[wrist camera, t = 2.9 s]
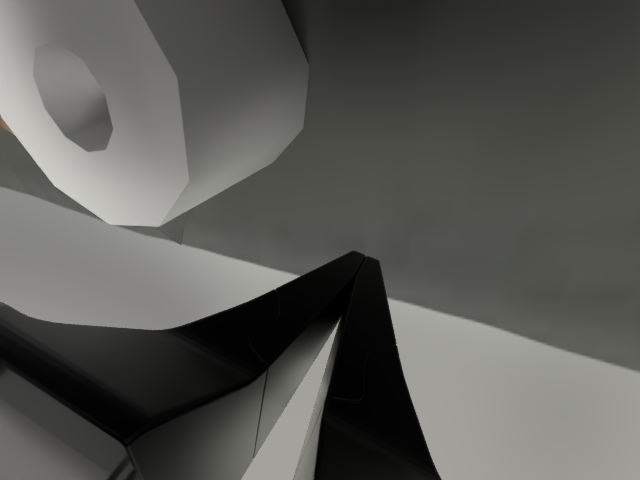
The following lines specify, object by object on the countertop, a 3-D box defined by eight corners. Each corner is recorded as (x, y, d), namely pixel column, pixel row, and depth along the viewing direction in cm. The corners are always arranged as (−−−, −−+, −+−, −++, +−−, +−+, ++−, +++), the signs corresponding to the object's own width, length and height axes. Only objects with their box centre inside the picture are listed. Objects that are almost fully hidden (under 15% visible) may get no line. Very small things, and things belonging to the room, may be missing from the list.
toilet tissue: (183, 197, 23) (63, 259, 16) (152, -42, 15) (-100, -117, 8) (292, 235, 21) (206, 326, 14) (318, -22, 13) (156, -102, 6)
